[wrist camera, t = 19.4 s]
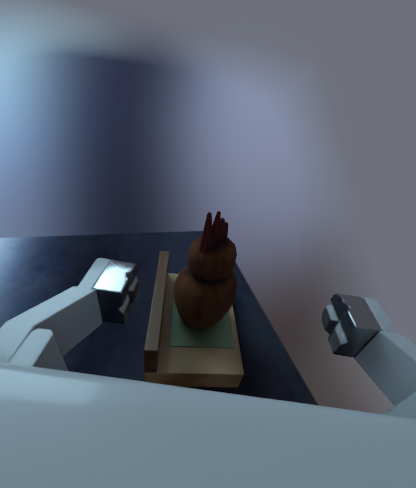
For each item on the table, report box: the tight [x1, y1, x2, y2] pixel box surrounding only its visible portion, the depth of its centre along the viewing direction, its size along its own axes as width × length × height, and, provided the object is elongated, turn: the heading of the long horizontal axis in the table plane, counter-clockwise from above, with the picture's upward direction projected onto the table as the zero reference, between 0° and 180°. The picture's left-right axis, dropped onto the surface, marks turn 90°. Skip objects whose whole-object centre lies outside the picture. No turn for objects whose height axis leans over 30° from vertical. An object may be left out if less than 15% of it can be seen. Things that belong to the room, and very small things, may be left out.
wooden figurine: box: [173, 211, 237, 329], centre depth 26 cm, size 7×6×15 cm
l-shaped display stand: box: [144, 251, 244, 387], centre depth 30 cm, size 10×14×7 cm
